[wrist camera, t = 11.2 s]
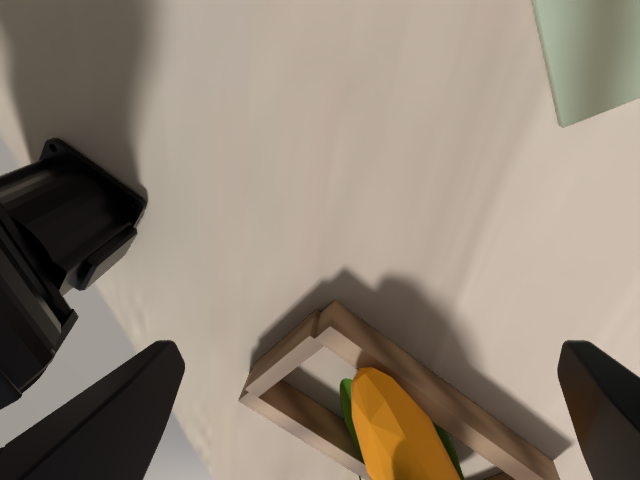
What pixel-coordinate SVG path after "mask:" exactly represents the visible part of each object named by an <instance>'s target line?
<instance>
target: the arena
mask: <svg viewBox="0 0 640 480" xmlns="http://www.w3.org/2000/svg"><path fill="white" fill-rule="evenodd" d="M532 5H533V9H534V14H535V18H536V23H537V27H538V32H539V37H540V41H541V46H542V50H543V55H544V59H545V64H546V68H547V73H548V78H549V82H550V87H551V91H552V96H553V100H554V105H555V110H556V114H557V119H558V123H559V126H561V127H563V128H564V127H567V126H569V125H572V124H575V123H577V122H580V121H582V120H585V119H587V118H590V117H592V116H595V115H598V114H600V113H603V112H605V111H608V110H610V109H613V108H615V107H618V106H621V105H623V104H626V103H628V102H631V101H633V100H636V99H638V98H640V0H532Z"/></svg>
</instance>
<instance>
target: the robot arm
mask: <svg viewBox="0 0 640 480" xmlns="http://www.w3.org/2000/svg"><path fill="white" fill-rule="evenodd" d="M54 145H55V146H56V147H57V149H56V148H55V146H54ZM136 203H137V204H138V205H139V206H137V205H136ZM146 206H147V205H146V202H145V200H144V199H143V198H142V197H140V196H139V195H137V194H136V193H135V192H133V191H132V190H130V189H129V188H128V187H126V186H125V185H123V184H122V183H121V182H119V181H118V180H116V179H115V178H114V177H112V176H111V175H109V174H108V173H107V172H105V171H104V170H102V169H101V168H100V167H98V166H97V165H95V164H94V163H93V162H91V161H90V160H88V159H87V158H86V157H84V156H83V155H81V154H80V153H78V152H77V151H76V150H74V149H73V148H71V147H70V146H69V145H67V144H66V143H64V142H63V141H62V140H60V139H58V138H52V139H49V140H47V141H46V142H45V145H44V148H43V151H42V154H41V157H40V160H39V161H37V162H35V163H32V164H30V165H27V166H24V167H22V168H19V169H17V170H14V171H12V172H9V173H6V174H4V175H1V176H0V409H2V408H4V407H6V406H8V405H10V404H11V403H13V402H15V401H17V400H18V399H19V398H21V396H22V393H23V392H24V391H26V390H27V389H28V388H29V387H31V385H33V384H34V383H35V382H36V381H37V380H38V379H39V378H40V376H41V375H42V374H43V373H44V371H45V370H46V368H47V367H48V365H49V364H50V363H51V362H52V360H53V358H54V356H55V354H56V352H57V351H58V349H59V347H60V346H61V344H62V343H63V341H64V340H65V338H66V336H67V335H68V333H69V332H70V330H71V329H72V327H73V325H74V324H75V322H76V321H77V319H78V315H77V313H76V312H75V311H74V309H71V308H70V306H69V305H68V303H67V302H66V300H65V299H64V297H63V295H64V294H66V293H67V292H68V291H69V290H70V289H72V288H73V287H74V288H75V289H77V290H79V291H81V290H85V289H87V288H88V287H89V286H90V285H91V284H92V283H94V282H95V281H96V280H97V279H98V278H99V277H100V276H102V275H103V274H104V273H105V272H106V271H107V270H108V269H110V268H111V267H112V266H113V265H114V264H115V263H116V262H118V261H119V260H120V259H121V258H122V257H123V256H124V255H125V254H126V252H127V250H128V249H129V247H130V245H131V244H132V242H133V240H134V239H135V237H136V235H137V229H136V228H135V226H136V225H137V223H138V221H139V219H140V218H141V216H142V214H143V213H144V211H145V209H146ZM184 371H185V363H184V360H183V358H182V356H181V354H180V352H179V350H178V348H177V345H176V344H175V342H173V341H171V340H159V341H156V342H154V343H153V344H151V345H150V346H148V347H147V348H145V349H144V350H143V351H141V352H140V353H138V354H137V355H135V356H134V357H132V358H131V359H130V360H128V361H127V362H125V363H124V364H122V365H121V366H119V367H118V368H117V369H115V370H113V371H112V372H111V373H109V374H108V375H107V376H105V377H103V378H102V379H100V380H99V381H98V382H96V383H95V384H93V385H92V386H90V387H89V388H87V389H86V390H84V391H83V392H82V393H80V394H79V395H77V396H76V397H74V398H73V399H71V400H70V401H68V402H67V403H66V404H64V405H63V406H61V407H60V408H58V409H57V410H55V411H54V412H52V413H51V414H50V415H48V416H47V417H45V418H44V419H42V420H41V421H39V422H38V423H36V424H35V425H34V426H32V427H31V428H29V429H28V430H26V431H25V432H23V433H22V434H21V435H19V436H18V437H16V438H15V439H13V440H12V441H10V442H9V443H8V444H6V445H5V447H2V448H0V480H143V478H144V476H145V474H146V471H147V469H148V467H149V465H150V462H151V460H152V458H153V455H154V453H155V451H156V449H157V446H158V444H159V442H160V440H161V437H162V435H163V432H164V430H165V427H166V425H167V422H168V419H169V416H170V413H171V410H172V407H173V404H174V401H175V398H176V395H177V392H178V389H179V386H180V383H181V380H182V377H183V374H184ZM557 372H558V379H559V382H560V385H561V388H562V392H563V395H564V398H565V401H566V404H567V407H568V410H569V414H570V417H571V420H572V423H573V426H574V429H575V432H576V436H577V439H578V442H579V445H580V448H581V451H582V454H583V456H584V459H585V461H586V464H587V466H588V468H589V471H590V473H591V475H592V478H593V480H640V377H638V376H637V375H636V374H634V373H633V372H631V371H630V370H629V369H627V368H626V367H624V366H623V365H622V364H620V363H619V362H617V361H616V360H615V359H613V358H612V357H610V356H609V355H608V354H606V353H605V352H604V351H602V350H601V349H599V348H598V347H597V346H595V345H594V344H592V343H591V342H589V341H585V340H567V341H565V342H564V343H563V345H562V349H561V354H560V359H559V363H558V369H557Z"/></svg>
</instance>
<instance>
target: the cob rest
mask: <svg viewBox="0 0 640 480" xmlns="http://www.w3.org/2000/svg"><path fill="white" fill-rule="evenodd" d="M323 346H325V347H327V348H328V349H330V350H331V351H332V352H334V353H335V354H337V355H338V356H340V357H341V358H342V359H344V360H345V361H347V362H348V363H350V364H351V365H352V366H354V367H355V368H357V369H358V370H359V369H360V368H366V367H373V368H375V369H377V370H379V371H381V372H383V373H385V374H387V375H388V376H390V377H392V378H393V379H394V380H395V381H396V382H397V383H398V384H399V386H400V387H401V388H402V389H403V390H404V391H405V392H406V393H407V394H408V395H409V396H410V397H411V398H412V399H413V400H414V402H415V403H416V404H417V405H418V406H419V407H420V408H421V409H422V410H423V411H424V412H425V413H426V414H427V415H428V416H429V417H430V419H431V421H432V422H434V423H435V424H437V425H438V426H440V427H441V428H442V429H444V430H445V431H447V432H448V433H450V434H451V435H452V436H454V437H455V438H457V439H458V440H460V441H461V442H462V443H464V444H465V445H467V446H468V447H470V448H471V449H472V450H474V451H475V452H477V453H478V454H480V455H481V456H482V457H484V458H485V459H487V460H488V461H490V462H491V463H492V464H494V465H495V466H497V467H498V468H500V469H501V470H502V471H504V473H501V474H499V475H496V476H493V477H490V478H488V479H485V480H560V478H559V475H558V473H557V470H556V467H555V465H554V462H553V461H552V460H551V459H549V458H548V457H547V456H545V455H544V454H543V453H541V452H540V451H538V450H537V449H536V448H534V447H533V446H532V445H530V444H529V443H528V442H526V441H525V440H524V439H522V438H521V437H520V436H518V435H517V434H516V433H514V432H513V431H511V430H510V429H509V428H507V427H506V426H505V425H503V424H502V423H501V422H499V421H498V420H497V419H495V418H494V417H493V416H491V415H490V414H488V413H487V412H486V411H484V410H483V409H482V408H480V407H479V406H478V405H476V404H475V403H474V402H472V401H471V400H470V399H468V398H467V397H466V396H464V395H463V394H461V393H460V392H459V391H457V390H456V389H455V388H453V387H452V386H451V385H449V384H448V383H447V382H445V381H444V380H443V379H441V378H440V377H438V376H437V375H436V374H434V373H433V372H432V371H430V370H429V369H428V368H426V367H425V366H424V365H422V364H421V363H420V362H418V361H417V360H416V359H414V358H413V357H411V356H410V355H409V354H407V353H406V352H405V351H403V350H402V349H401V348H399V347H398V346H397V345H395V344H394V343H393V342H391V341H390V340H388V339H387V338H386V337H384V336H383V335H382V334H380V333H379V332H378V331H376V330H375V329H374V328H372V327H371V326H370V325H368V324H367V323H365V322H364V321H363V320H361V319H360V318H359V317H357V316H356V315H355V314H353V313H352V312H351V311H349V310H348V309H347V308H345V307H344V306H343V305H341V304H340V303H338V302H337V301H336V300H335V301H334V302H333V303H331V304H330V305H329V306H328V307H327V308H326V309H324V310H323V311H322V312H321V313H320V312H319V311H318V310H315V311H314V312H313V313H312V314H310V315H309V316H308V317H307V318H306V319H305V320H304V321H302V322H301V323H300V324H299V325H298V326H297V327H296V328H294V329H293V330H292V331H291V332H290V333H289V334H288V335H286V336H285V337H284V338H283V339H282V340H281V341H280V342H278V343H277V344H276V345H275V346H274V347H273V348H271V349H270V350H269V351H268V352H267V353H266V354H265V355H263V356H262V357H261V358H260V359H259V360H258V361H257V362H255V365H254V367H253V370H252V372H251V373H250V374H249V375H248V378H247V380H246V383H245V385H244V388H243V390H242V393H241V395H240V398H239V400H238V401H239V402H241V403H243V404H244V405H246V406H247V407H249V408H251V409H252V410H254V411H255V412H257V413H259V414H260V415H262V416H264V417H265V418H267V419H268V420H270V421H272V422H273V423H275V424H276V425H278V426H280V427H281V428H283V429H284V430H286V431H288V432H289V433H291V434H293V435H294V436H296V437H297V438H299V439H301V440H302V441H304V442H305V443H307V444H309V445H310V446H312V447H314V448H315V449H317V450H318V451H320V452H322V453H323V454H325V455H326V456H328V457H330V458H331V459H333V460H335V461H336V462H338V463H339V464H341V465H343V466H344V467H346V468H347V469H349V470H351V471H352V472H354V473H356V474H357V475H360V477H362V478H364V479H365V480H371V479H370V477H369V475H368V473H367V470H366V466H365V463H364V461H363V459H362V457H361V455H360V454H359V452H358V450H357V448H356V445H355V443H354V441H353V438H352V436H351V434H350V432H349V429H348V427H347V425H346V422H345V421H344V420H342V419H341V418H339V417H338V416H336V415H334V414H333V413H331V412H330V411H328V410H327V409H325V408H324V407H322V406H321V405H319V404H318V403H316V402H315V401H313V400H312V399H310V398H308V397H307V396H305V395H304V394H302V393H301V392H299V391H298V390H296V389H295V388H293V387H292V386H290V385H289V384H287V383H286V382H284V381H282V380H281V379H282V378H283V377H285V376H286V375H287V374H289V373H290V372H291V371H292V370H294V369H295V368H296V367H298V366H299V365H300V364H301V363H303V362H304V361H305V360H307V359H308V358H309V357H310V356H312V355H313V354H314V353H316V352H317V351H318V350H319V349H321V348H322V347H323Z"/></svg>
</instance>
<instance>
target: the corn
mask: <svg viewBox="0 0 640 480" xmlns="http://www.w3.org/2000/svg"><path fill="white" fill-rule="evenodd" d="M340 399H341V405H342V410H343V414H344V419H345V422H346V425H347V427H348V429H349V432H350V434H351V436H352V438H353V441H354V443H355V445H356V448H357V450H358V452H359V454H360V455H361V457H362V459H363V461H364V463H365V466H366V470H367V473H368V475H369V477H370V479H371V480H464V477H463V474H462V471H461V468H460V465H459V462H458V458H457V455H456V452H455V450H454V448H453V446H452V444H451V442H450V440H449V438H448V436H447V434H446V432H445V430H444V429H442V428H441V427H440V426H438V425H437V424H435V423H434V422H432V421H431V419H430V417H429V416H428V415H427V414H426V413H425V412H424V411H423V410H422V409H421V408H420V407H419V406H418V405H417V404H416V403H415V402H414V400H413V399H412V398H411V397H410V396H409V395H408V394H407V393H406V392H405V391H404V390H403V389H402V388H401V387H400V386H399V384H398V383H397V382H396V381H395V380H394V379H393V378H392V377H390V376H388V375H387V374H385V373H383V372H381V371H379V370H377V369H375V368H373V367H366V368H360V369H359V370H358V372H357V374H356V375H355V377H354V379H353V381H352V380H351V379H347V378H345V379H343V380H342V381H341V383H340ZM359 478H360V480H361V477H360V475H359Z"/></svg>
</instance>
